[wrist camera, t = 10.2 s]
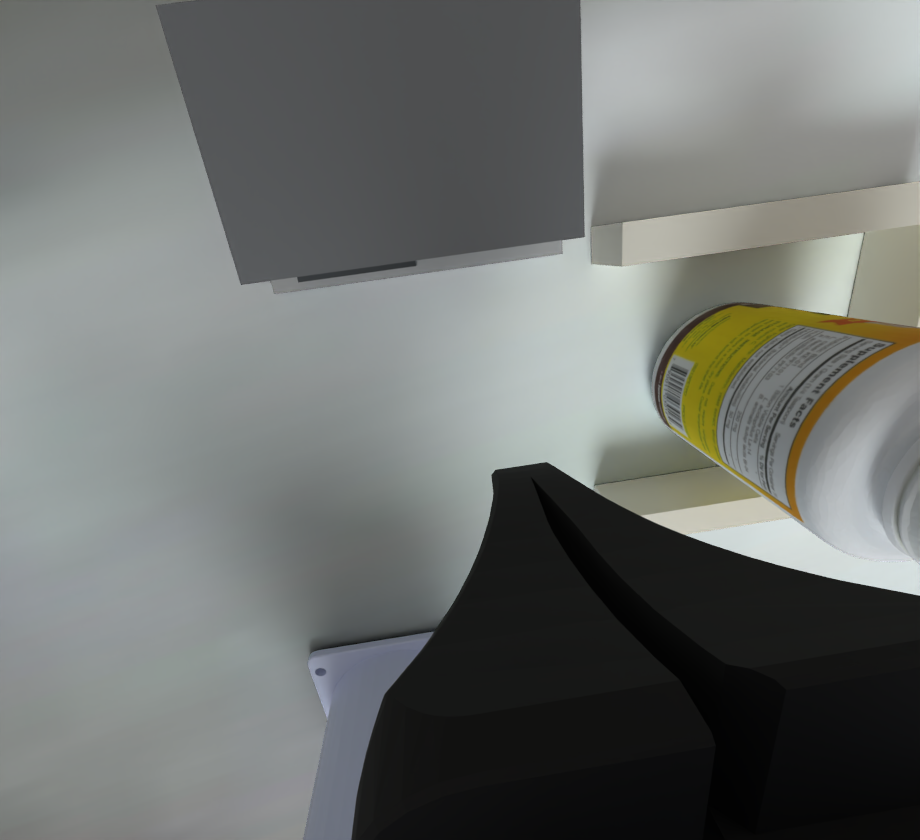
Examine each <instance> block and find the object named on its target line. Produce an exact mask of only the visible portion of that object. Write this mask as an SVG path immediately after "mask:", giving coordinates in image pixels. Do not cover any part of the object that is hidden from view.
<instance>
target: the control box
mask: <svg viewBox="0 0 920 840" xmlns="http://www.w3.org/2000/svg"><path fill="white" fill-rule="evenodd" d="M156 8H157V11H158V15H159V18H160V21H161V24H162V28H163V31H164V34H165V37H166V41H167V44H168V47H169V51H170V54H171V57H172V60H173V64H174V67H175V70H176V73H177V77H178V80H179V83H180V87H181V90H182V93H183V96H184V100H185V103H186V106H187V109H188V113H189V116H190V119H191V123H192V126H193V129H194V132H195V136H196V139H197V142H198V145H199V149H200V152H201V155H202V159H203V162H204V165H205V168H206V172H207V175H208V178H209V181H210V185H211V188H212V191H213V195H214V198H215V201H216V204H217V208H218V211H219V214H220V217H221V221H222V224H223V227H224V231H225V234H226V237H227V240H228V244H229V247H230V250H231V253H232V257H233V260H234V263H235V267H236V270H237V273H238V276H239V280H240V283H241V285H243V284H251V283H258V282H265V281H271V284H272V288H273V292H274V294H279V293H286V292H293V291H300V290H307V289H314V288H322V287H329V286H336V285H343V284H350V283H357V282H364V281H372V280H379V279H386V278H393V277H400V276H407V275H414V274H422V273H429V272H436V271H443V270H450V269H457V268H464V267H472V266H479V265H486V264H493V263H500V262H507V261H514V260H522V259H529V258H536V257H543V256H550V255H557V254H563V251H562V240H567V239H574V238H581V237H585V234H584V180H583V126H582V72H581V17H580V0H196V1H187V2H179V3H171V4H163V5H156Z"/></svg>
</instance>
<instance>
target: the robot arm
mask: <svg viewBox="0 0 920 840" xmlns="http://www.w3.org/2000/svg"><path fill="white" fill-rule="evenodd" d="M492 484H493V493H494V494H493V502H492V507H491V513H490V517H489V521H488V525H487V528H486V531H485V535H484V538H483V541H482V544H481V547H480V549H479V552H478V555H477V557H476V559H475V562H474V564H473V566H472V569H471V571H470V573H469V575H468V577H467V579H466V581H465V583H464V584H463V586H462V588H461V590H460V592H459V594H458V596H457V598H456V599H455V601H454V603H453V604H452V606H451V608H450V609H449V611H448V612H447V614H446V615H445V617H444V618H443V620H442V621H441V623H440V624H439V626H438V627H437V628H436V630H435V631H434V632H428V633H422V634H416V635H409V636H403V637H397V638H391V639H385V640H378V641H372V642H366V643H360V644H354V645H348V646H341V647H335V648H329V649H323V650H317V651H314V652H312V653H311V654H310V656H309V658H308V662H307V664H308V668H309V670H310V673H311V676H312V679H313V681H314V684H315V687H316V690H317V692H318V695H319V698H320V701H321V703H322V706H323V709H324V711H325V714H326V717H327V725H326V729H325V734H324V739H323V744H322V749H321V754H320V759H319V764H318V769H317V773H316V778H315V783H314V788H313V793H312V798H311V803H310V808H309V813H308V818H307V822H306V827H305V832H304V837H303V840H920V596H918V595H913V594H908V593H903V592H897V591H892V590H887V589H882V588H877V587H871V586H866V585H861V584H856V583H851V582H846V581H840V580H836V579H832V578H827V577H823V576H819V575H815V574H811V573H807V572H803V571H799V570H795V569H791V568H787V567H783V566H779V565H775V564H772V563H768V562H765V561H761V560H758V559H754V558H751V557H747V556H744V555H741V554H738V553H735V552H732V551H729V550H726V549H723V548H720V547H716V546H713V545H710V544H708V543H705V542H702V541H699V540H696V539H694V538H691V537H688V536H686V535H684V534H681V533H679V532H676V531H674V530H671V529H669V528H666V527H664V526H662V525H659V524H657V523H655V522H652V521H650V520H648V519H646V518H644V517H642V516H640V515H638V514H636V513H634V512H632V511H630V510H628V509H626V508H624V507H622V506H620V505H618V504H616V503H614V502H612V501H611V500H609V499H607V498H605V497H603V496H602V495H600V494H598V493H596V492H595V491H593V490H591V489H590V488H588V487H586V486H585V485H583V484H581V483H580V482H578V481H577V480H575V479H573V478H572V477H570V476H569V475H567V474H565V473H564V472H562V471H561V470H559V469H557V468H556V467H554V466H552V465H551V464H549V463H547V462H545V463H539V464H532V465H525V466H519V467H512V468H505V469H499V470H495V471H494V473H493V474H492ZM322 668H323V669H322Z"/></svg>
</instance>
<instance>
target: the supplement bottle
mask: <svg viewBox="0 0 920 840" xmlns="http://www.w3.org/2000/svg"><path fill="white" fill-rule="evenodd" d="M651 389H652V398H653V403H654V406H655V409H656V411H657V413H658V415H659V417H660V418H661V420H662V421H663V423H664V424H665V425H666V426H667V427H668V428H669V429H670V430H671V431H672V432H674V433H675V434H676V435H678V436H679V437H680V438H682V439H683V440H684V441H686V442H687V443H689V444H690V445H691V446H693V447H694V448H696V449H697V450H698V451H700V452H701V453H703V454H704V455H705V456H707V457H708V458H709V459H711V460H712V461H714V462H715V463H716V464H718V465H719V466H721V467H722V468H723V469H725V470H726V471H727V472H729V473H730V474H732V475H733V476H734V477H736V478H737V479H739V480H740V481H741V482H743V483H744V484H746V485H747V486H748V487H750V488H751V489H753V490H754V491H755V492H757V493H758V494H759V495H761V496H762V497H764V498H765V499H766V500H768V501H769V502H771V503H772V504H773V505H775V506H776V507H778V508H779V509H780V510H782V511H783V512H784V513H786V514H787V515H789V516H790V517H791V518H793V519H794V520H795V521H797V522H798V523H800V524H801V525H802V526H804V527H805V528H806V529H808V530H809V531H811V532H812V533H813V534H815V535H816V536H818V537H819V538H820V539H822V540H823V541H824V542H826V543H828V544H829V545H831V546H832V547H834V548H835V549H837V550H839V551H841V552H843V553H845V554H848V555H851V556H853V557H857V558H861V559H866V560H871V561H881V562H904V561H913V560H915V561H916V562H917V563H919V564H920V328H919V327H913V326H905V325H898V324H891V323H884V322H877V321H870V320H863V319H857V318H850V317H843V316H837V315H830V314H824V313H816V312H809V311H802V310H796V309H789V308H782V307H775V306H770V305H763V304H753V303H741V302H740V303H728V304H722V305H718V306H715V307H712V308H710V309H707V310H705V311H703V312H701V313H699V314H697V315H696V316H694V317H692V318H691V319H690V320H688V321H687V322H685V323H684V324H683V325H682V326H681V327H680V328H679V329H678V330H677V331H676V332H675V333H674V334H673V335H672V336H671V337H670V339H669V340H668V341H667V343H666V344H665V346H664V347H663V349H662V351H661V353H660V355H659V357H658V359H657V361H656V364H655V367H654V371H653V376H652V388H651Z"/></svg>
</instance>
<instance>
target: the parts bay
mask: <svg viewBox="0 0 920 840" xmlns="http://www.w3.org/2000/svg"><path fill="white" fill-rule="evenodd" d="M863 232H865V235H864V240H863V245H862V250H861V255H860V260H859V264H858V269H857V274H856V279H855V284H854V289H853V294H852V298H851V303H850V308H849V313H848V317H850V318H857V319H863V320H870V321H877V322H884V323H891V324H898V325H905V326H913V327H919V328H920V181H918V182H911V183H904V184H897V185H890V186H882V187H875V188H868V189H861V190H854V191H846V192H839V193H832V194H825V195H817V196H810V197H803V198H796V199H789V200H781V201H774V202H767V203H760V204H753V205H745V206H738V207H731V208H724V209H716V210H709V211H702V212H695V213H688V214H680V215H673V216H666V217H659V218H652V219H644V220H637V221H630V222H623V223H616V224H608V225H601V226H594V227H591V253H592V264H597V265H609V266H629V265H637V264H644V263H651V262H658V261H665V260H672V259H679V258H686V257H693V256H700V255H707V254H714V253H721V252H729V251H736V250H743V249H750V248H757V247H764V246H771V245H778V244H785V243H792V242H799V241H806V240H814V239H821V238H828V237H835V236H842V235H849V234H856V233H863ZM595 492H596V493H598V494H600V495H602V496H603V497H605V498H607V499H609V500H611V501H612V502H614V503H616V504H618V505H620V506H622V507H624V508H626V509H628V510H630V511H632V512H634V513H636V514H638V515H640V516H642V517H644V518H646V519H648V520H650V521H652V522H655V523H657V524H659V525H662V526H664V527H666V528H669V529H671V530H674V531H676V532H679V533H681V534H684V535H686V534H692V533H699V532H705V531H711V530H718V529H724V528H730V527H737V526H743V525H749V524H755V523H762V522H768V521H774V520H781V519H787V518H791V517H790V516H789V515H787V514H786V513H784V512H783V511H782V510H780V509H779V508H778V507H776V506H775V505H773V504H772V503H771V502H769V501H768V500H766V499H765V498H764V497H762V496H761V495H759V494H758V493H757V492H755V491H754V490H753V489H751V488H750V487H748V486H747V485H746V484H744V483H743V482H741V481H740V480H739V479H737V478H736V477H734V476H733V475H732V474H730V473H729V472H727V471H726V470H725V469H723V468H722V467H721V466H717V467H711V468H704V469H698V470H691V471H685V472H678V473H672V474H665V475H659V476H652V477H646V478H639V479H633V480H626V481H620V482H613V483H607V484H601V485H595Z"/></svg>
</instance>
